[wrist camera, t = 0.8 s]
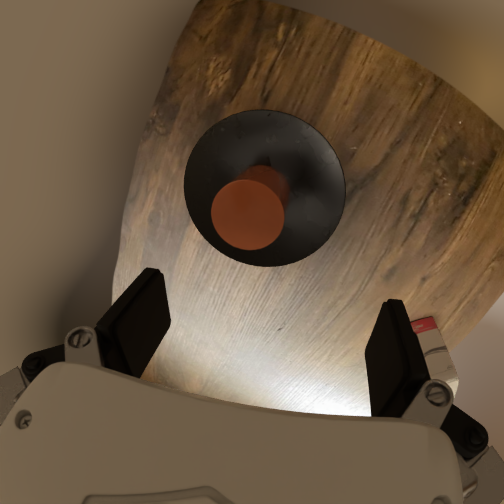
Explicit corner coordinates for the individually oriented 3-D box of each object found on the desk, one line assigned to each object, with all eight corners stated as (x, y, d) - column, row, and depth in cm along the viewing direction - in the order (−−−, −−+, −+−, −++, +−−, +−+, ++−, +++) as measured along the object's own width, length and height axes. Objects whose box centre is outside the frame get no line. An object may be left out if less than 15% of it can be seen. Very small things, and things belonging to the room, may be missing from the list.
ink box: (402, 323, 35) (422, 389, 24) (434, 314, 33) (460, 377, 23) (403, 362, 38) (416, 424, 27) (431, 355, 36) (449, 414, 26)
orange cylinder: (234, 162, 23) (211, 176, 18) (292, 168, 22) (287, 184, 17) (232, 216, 25) (210, 245, 20) (287, 223, 24) (280, 254, 19)
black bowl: (210, 109, 28) (184, 108, 21) (344, 120, 26) (355, 120, 19) (208, 229, 34) (186, 256, 28) (327, 245, 32) (330, 276, 26)
